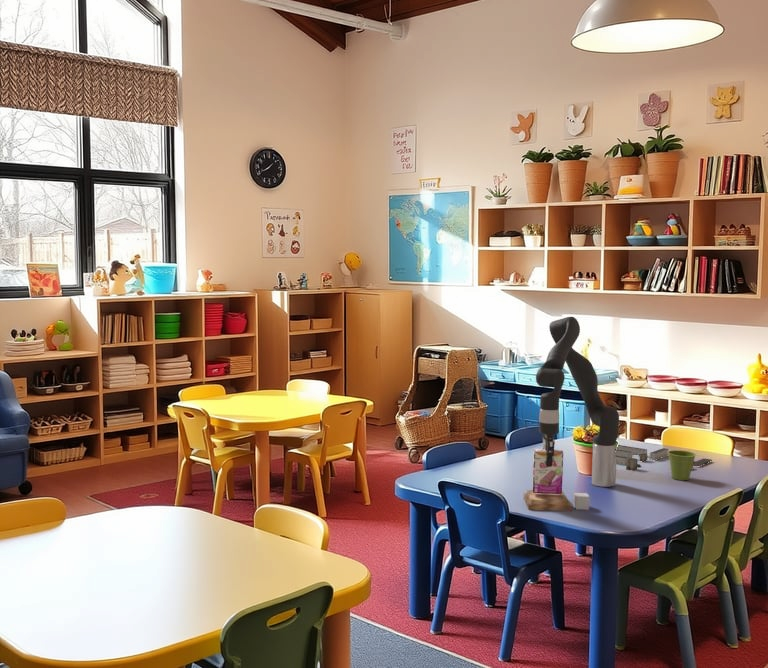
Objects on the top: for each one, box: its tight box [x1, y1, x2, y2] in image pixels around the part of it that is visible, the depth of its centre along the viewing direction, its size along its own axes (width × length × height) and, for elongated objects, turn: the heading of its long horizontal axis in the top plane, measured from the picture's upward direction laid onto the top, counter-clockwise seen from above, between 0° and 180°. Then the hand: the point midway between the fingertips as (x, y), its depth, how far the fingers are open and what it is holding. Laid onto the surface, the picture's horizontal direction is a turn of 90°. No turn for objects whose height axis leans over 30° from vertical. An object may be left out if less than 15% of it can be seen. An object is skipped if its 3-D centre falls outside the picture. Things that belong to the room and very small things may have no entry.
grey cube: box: [573, 492, 591, 510], centre depth 336 cm, size 5×5×5 cm
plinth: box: [523, 489, 573, 512], centre depth 339 cm, size 16×16×4 cm
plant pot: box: [667, 449, 697, 481], centre depth 382 cm, size 12×12×11 cm
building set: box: [615, 444, 713, 472], centre depth 414 cm, size 45×43×5 cm
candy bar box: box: [531, 448, 564, 494], centre depth 338 cm, size 11×5×16 cm, turn 84°
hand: (548, 464), depth 338 cm, fingers closed on candy bar box, 5 cm apart
